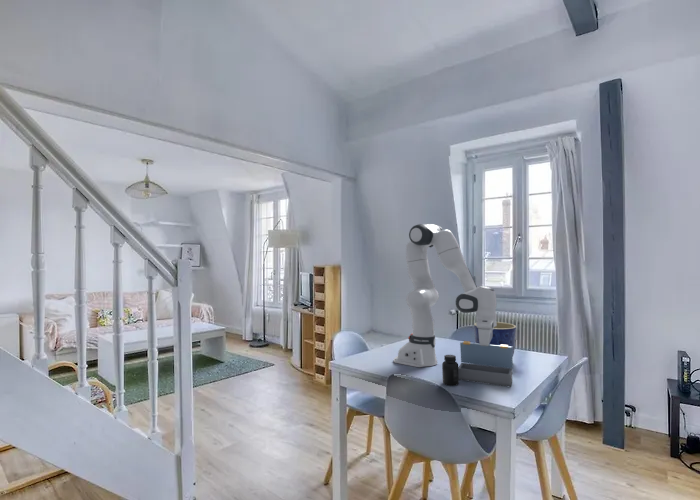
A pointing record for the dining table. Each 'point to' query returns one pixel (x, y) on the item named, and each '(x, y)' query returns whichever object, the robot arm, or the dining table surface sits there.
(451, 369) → the supplement bottle
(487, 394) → the dining table surface
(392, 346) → the dining table surface
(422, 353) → the robot arm
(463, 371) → the grey rectangular open box
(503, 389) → the dining table surface
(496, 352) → the cover
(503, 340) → the planter
